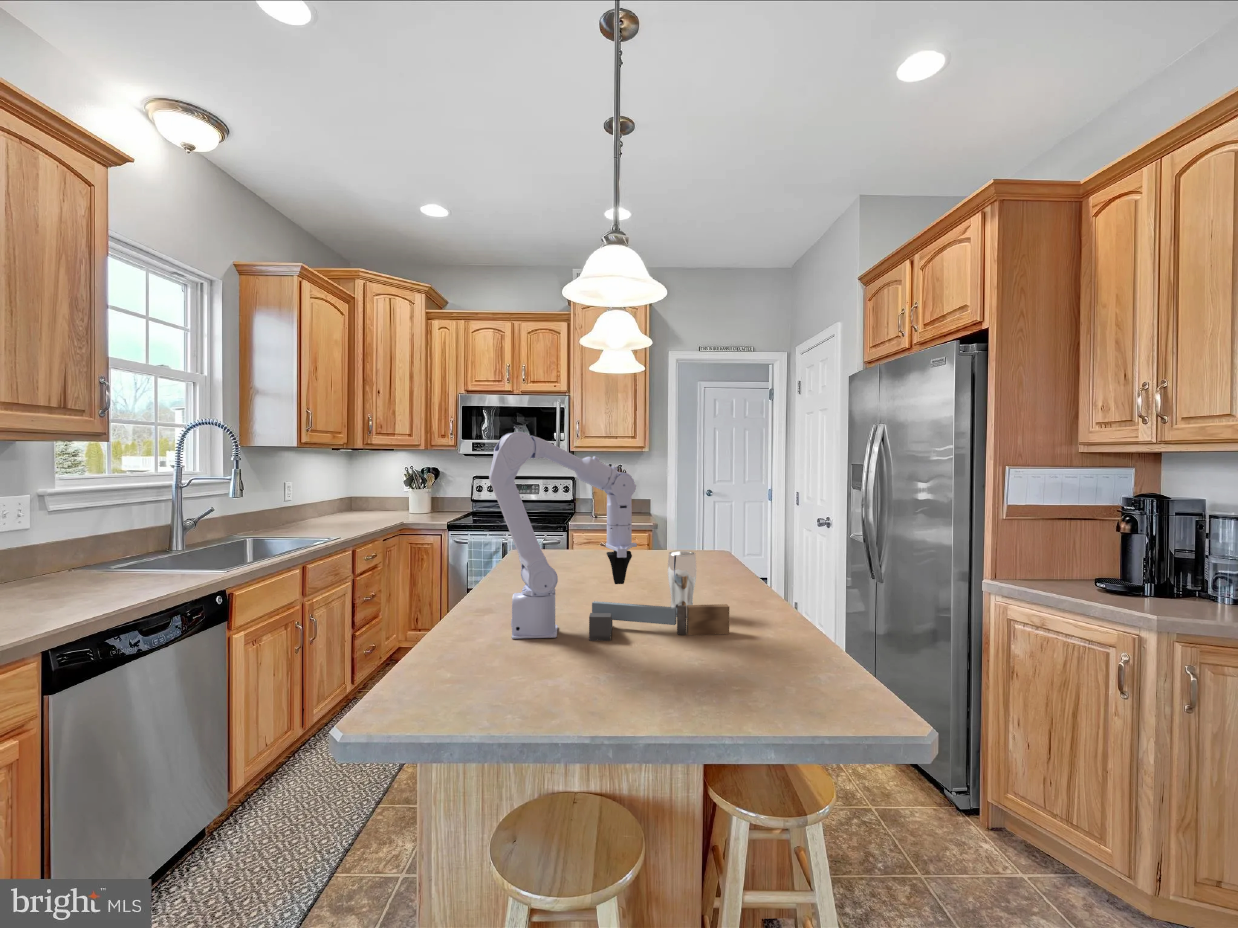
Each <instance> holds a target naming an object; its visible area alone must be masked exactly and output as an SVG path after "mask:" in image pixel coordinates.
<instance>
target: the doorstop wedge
mask: <svg viewBox="0 0 1238 928" xmlns="http://www.w3.org/2000/svg"><path fill="white" fill-rule="evenodd" d="M588 618H589V620H588V621H589V622H588V640H589V641H590V642H591V641H593V642H595V641H597V642H600V641H601V642H611V641H612V640H611V639H612V634H613V633H612V632H613V620H612V615H611V613H592V612H590V613H589V617H588Z"/></svg>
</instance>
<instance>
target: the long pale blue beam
mask: <svg viewBox="0 0 1238 928" xmlns="http://www.w3.org/2000/svg"><path fill="white" fill-rule="evenodd" d="M591 613H611V615H612V621H618V622H619V621H620V622H632V623H633V622H635V623H645V624H656V625H667V626H668V625H670V626H677V617H676V607H670V606H665V605H664V606H663V605H662V606H661V605H649V604H638V603H624V602H622V603H621V602H608V601H598V600H597V601H596V600H594V601H592V602H591Z"/></svg>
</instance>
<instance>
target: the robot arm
mask: <svg viewBox="0 0 1238 928" xmlns="http://www.w3.org/2000/svg"><path fill="white" fill-rule="evenodd" d="M530 459H544V460H548V461H549V462H552V463H554V464H556V465H559V466H562V467H563V468H567V469H568V470H571V471H573V472H574V473H575V474H576V477H577V480H579V481H581V482H582V483H585V484H587V485H589V486H592V487H594V488H596V489H598V490H600V491H603V492H604V493H605V494H606V543H605V548H607V549H610V550H612V551H607V552H606V556H607V557H608V560H609V563H610V567H611V572H612V573H611V575H612V578H613V582H614V585H624V584H625V581H626V575H627V569H628V566H629V564H630V562H631V559H632V558H633V554H632V552H631V551H630V550H631V549H632V548H636V547H637V545H638V544H637V543H636V542H632V541H633V540H632V539H633V538H632V533H633V531H632V526H633V525H632V524H633V523H632V522H633V521H632V516H633V515H632V512H633V511H632V510H633V509H632V508H633V506H632V501H633V500H632V497H633V495H634V493H635V492H636V489H637V484H635V479H634V478H633V477H632V475H631V474H629V473H627V472H621V471H618V467H617V466H615V465H612V466H610V465H608V464H606V463H604V462H601V461H600V460H601V458H600V457H597V456H595V455H594V456H592V457H591V456H585V457H583V458H581V457H578V456H576V455H574V454H572V453H570V452H569V451H568V450H565V449H563V448H561V447H559V446H557V445H556V444H553V443H552V442H549V441H547V440H545V439H543V438H541V437H538V436H534V435H530V434H527V433H526V432H523V431H514V432H508V433H506V434H504V435H502V436H501V438H500V439H499V440H498V442H497V443H496V445H495V446H494V449H493V456H492V461H491V465H490V470H489V474H488V475H489V476H488V479H489V482H490V485H491V487H492V490H493V493H494V495H495V497H496V499H497V500H496V501H497V503H498V506H499V508H500V511H501V514H502V516H503V518H504V521H505V523H506V525H507V528H508V531H509V533H510V536H511V539H512V541H513V543H514V546H515V549H516V551H517V554H518V560H519V563H520V577H521V579H522V581H523V582H524V584H525V585H523V588H522V589H521V590H522V591H521V592H514V593H513V594H512V598H511V599H512V601H511V621H510V622H511V623H510V625H511V639H516V640H517V639H550V638H551V639H553V638H557V637H558V628H559V627H558V624H556V587H557V585H558V582H559V581H558V580H559V579H558V573H557V571H556V570H555V569H554V568H553V567H552V566H551V565H550V564H549V562H548V560H547V558H546V556H545V554H544V553H543V550H542V549H541V547H540V545H539V541H538V540H537V539H538V538H537V537H536V534H535V532H534V528H533V525H532V523H531V521H530V519H529V516H528V513H527V510H526V508H525V505H524V502H523V501H522V497H521V495H520V493H519V492H520V491H519V490H518V487H517V485H516V483H515V479H516V477H517V475H518V473H519V472H520V469H521V467H522V466H523V465H524V464H525V463H527V461H528V460H530Z"/></svg>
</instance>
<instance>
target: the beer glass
mask: <svg viewBox="0 0 1238 928" xmlns="http://www.w3.org/2000/svg"><path fill="white" fill-rule="evenodd" d="M696 556H697V555H696V552H694V551H688V550H673V551H669V552H668V558H667V580H668V587H669V592H670V605H669V607H676V618H677V606H678V605H684V606H686V619H687V605H694V602H693V600H694V592H695V587H696V586H695V585H696V581H697V580H696V579H697V558H696Z"/></svg>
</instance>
